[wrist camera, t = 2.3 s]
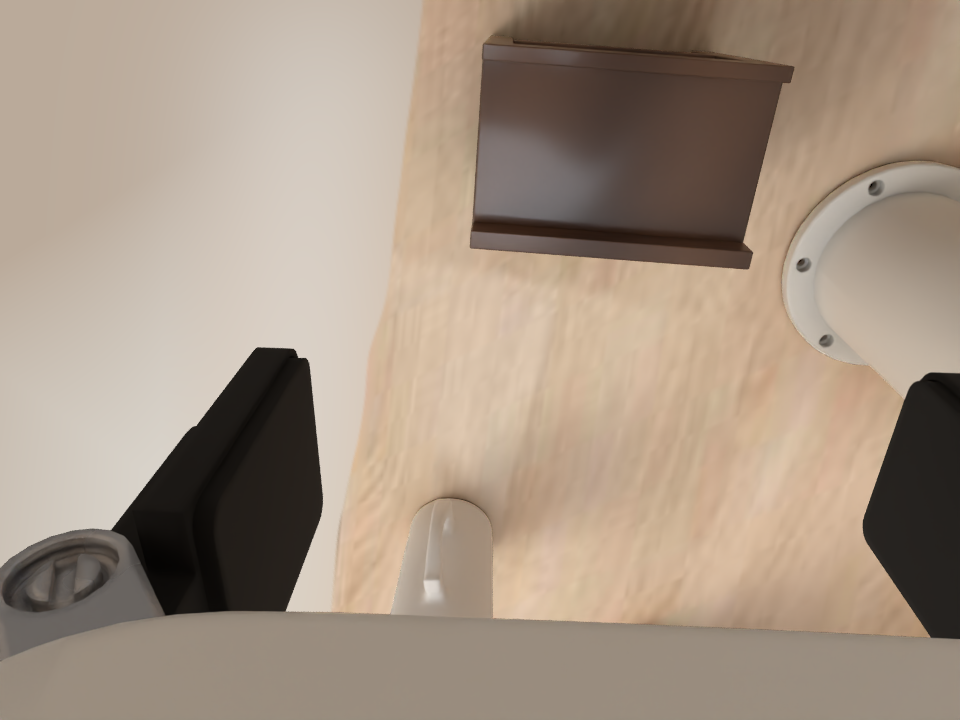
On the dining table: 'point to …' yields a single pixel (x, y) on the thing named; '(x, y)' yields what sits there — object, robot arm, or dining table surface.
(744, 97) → the shelf
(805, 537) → the dining table surface
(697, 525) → the dining table surface
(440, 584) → the mug
